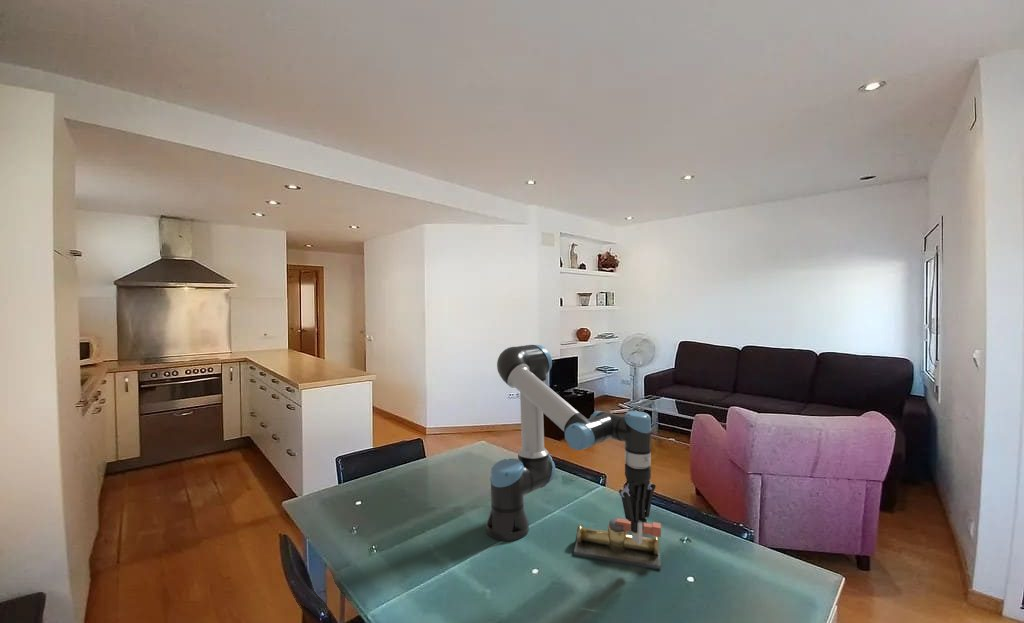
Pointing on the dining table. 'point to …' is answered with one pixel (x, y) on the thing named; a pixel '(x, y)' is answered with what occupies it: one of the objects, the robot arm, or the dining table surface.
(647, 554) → the valve base
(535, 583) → the dining table surface
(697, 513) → the dining table surface
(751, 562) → the dining table surface
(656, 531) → the lever
